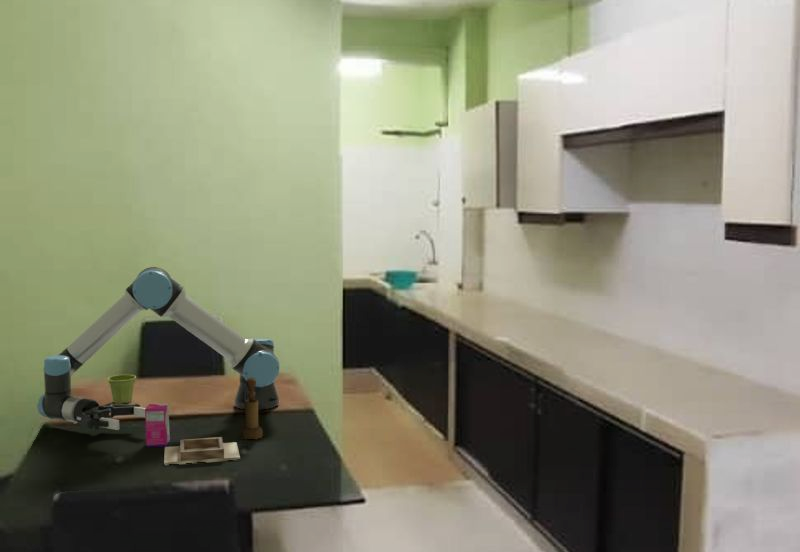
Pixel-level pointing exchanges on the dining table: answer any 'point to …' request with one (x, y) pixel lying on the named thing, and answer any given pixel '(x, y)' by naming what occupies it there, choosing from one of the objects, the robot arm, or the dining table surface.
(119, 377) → the plant pot
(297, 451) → the dining table surface
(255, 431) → the brown tall column piece
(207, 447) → the dock
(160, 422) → the supplement box
